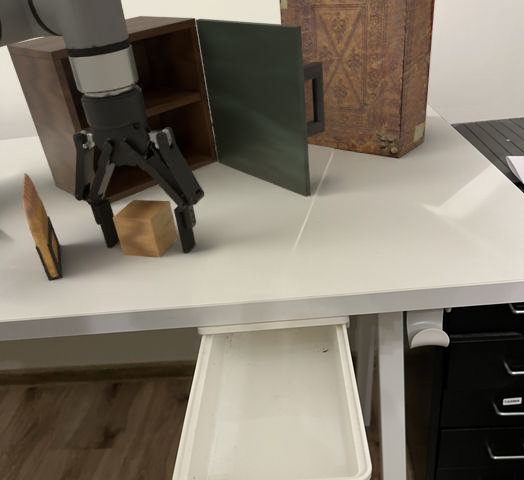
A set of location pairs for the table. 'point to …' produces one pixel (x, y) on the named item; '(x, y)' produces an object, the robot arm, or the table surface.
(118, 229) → the oak block
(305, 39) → the book
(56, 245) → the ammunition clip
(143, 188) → the cupboard
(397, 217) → the table surface
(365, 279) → the table surface
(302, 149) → the door
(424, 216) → the table surface
